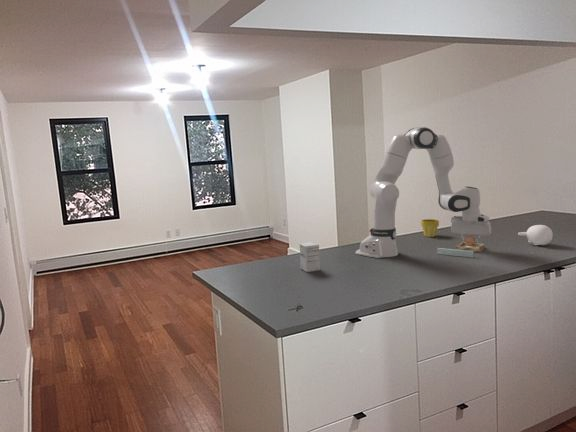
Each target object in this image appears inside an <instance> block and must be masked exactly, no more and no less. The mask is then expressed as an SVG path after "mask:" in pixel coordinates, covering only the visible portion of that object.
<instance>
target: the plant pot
mask: <svg viewBox="0 0 576 432" xmlns="http://www.w3.org/2000/svg"><path fill="white" fill-rule="evenodd" d="M439 224H440V221H439V219H433V218H429V219H428V218H426V219H425V218H424V219H421V220H420V226H421V227H422V231H423V235H424V237H426V238H434V237H436V235H437V230H438V227H439Z"/></svg>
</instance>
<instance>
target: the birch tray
mask: <svg viewBox="0 0 576 432" xmlns="http://www.w3.org/2000/svg"><path fill="white" fill-rule="evenodd" d="M485 248H486V243H475V244H474V245H467V244H466V242H461V243H459V244H458V245H456V246H455V250H465V251H474V253H477V254H478V253H479V254H480V253H481V252H482V251H483V250H485Z"/></svg>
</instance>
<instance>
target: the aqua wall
mask: <svg viewBox="0 0 576 432" xmlns="http://www.w3.org/2000/svg"><path fill="white" fill-rule="evenodd" d="M474 253H475V252H474V251H465V250H456V249H452V248H443V247H437V249H436V254H437V255H442V256H443V255H445V256H452V257H453V256H455V257H462V258H463V257H464V258H472V259H473V258H474Z"/></svg>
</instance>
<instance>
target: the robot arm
mask: <svg viewBox="0 0 576 432" xmlns="http://www.w3.org/2000/svg"><path fill="white" fill-rule="evenodd" d="M412 149H416V150H422V149H423V150H426V151H427V153H428V155H429V160H430V163H431V165H432V168H433V172H434V175H435V179H436V184H437V189H438V199H437V200H438V201H437V202H438V205H439V207H440V208H441V209H443V210H446V211H449V212H454V213H457V212H459V213H460V212H461V215H458V216H457V215H454V216H452V217H451V218H450V223H451V225H450V226H451V227H450V231H451V233H452V234H459V235H460V238H461V239H462V240H461V241H462V242H466V241H465V240H466V238H467V237H466V238H465V235H470V236H471V235H472V236H476V237H477V238H476V239H475V243H477V244H479V241H480V240H479V239H480V238H481V236H485V237H489V236H490V235H491V234H492V226H491V222H490V221H489V220H490V216H489V215H486V214H482V213H481V209H480V205H481V194H480V189H479V188H477V187H474V186H468V185H467V186H464V187H463V188H462V189H460V190H458V191H456V192H454V191H453V189H452V188H451V183H450V179H449V178H450V177H449V173H450V171H451V170H452V169H453V167H454V162H455V161H454V156H453V153H452V149H451V147H450V144H449V141H448V140H447V138H446V136H445V135H443V134H436V133H435V132H434V131H433V130H432V129H431V128H428V127H426V126H425V127H424V126H419V127H413V128H410V129H409V130H408V131H406V132H405V133H404V134H397V135H394V136H393V138H392V139H391V141H390V143H389V145H388V147H387V150H386V152H385V155H384V158H383V161H382V163H381V166H380V168H379V170H378V172H377V174H376V175H375V177H374V179H373V182H372V183H371V184H370V185H369V188H368V189H369V194H370V196H371V197H372V199H374V200H375V206H374V211H373V213H372V216H373V217H372V218H373V220H372V221H373V227H372V228H370V229H369V230H368V233H370V235H368V236H367V237H365V238H364V239H362V241H361V242H360V245H359V249H357V250H356V251H355V255H358V256H365V257H370V258H376V259H380V258H391V257H392V258H393V257H396V256H398V255H399V251H398V248H397V244H396V243H397V240H396V238H397V230H396V222H395V221H396V209H397V205H398V204H397V203H398V199H399V197H400V190H399V188H398V186H397V185H396V182H397V181H398V179H399V178H400V176H401V175H402V173H403V171H404V168H405V165H406V162H407V159H408V157H409V155H410V152H411V151H412ZM462 242H461V243H462Z"/></svg>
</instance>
